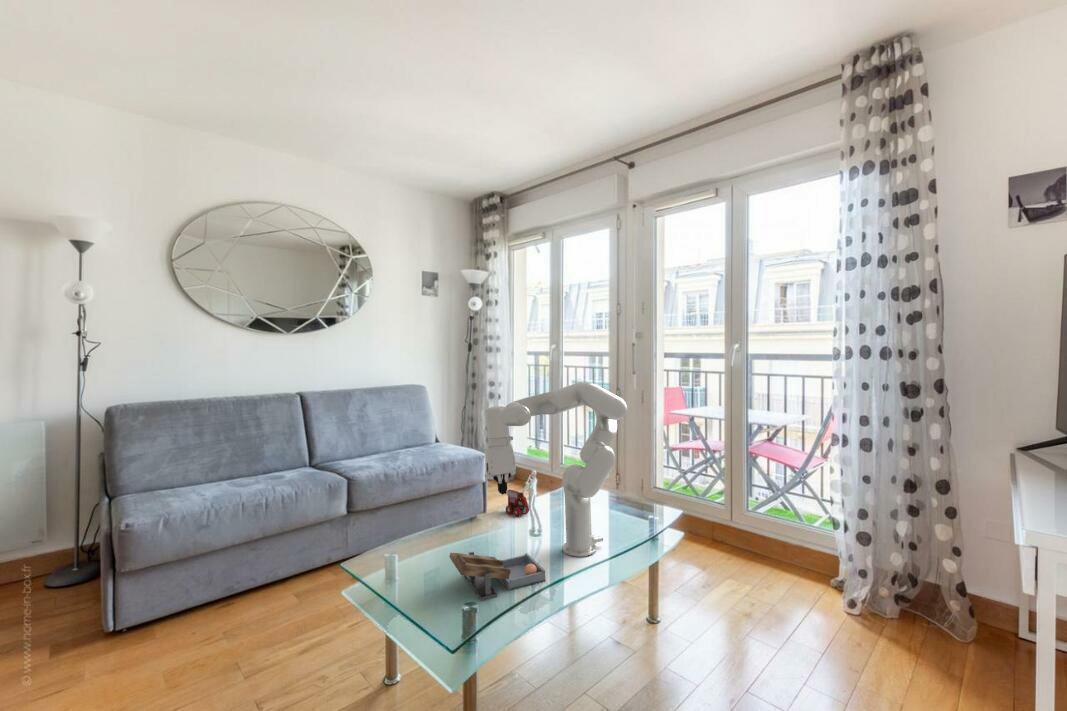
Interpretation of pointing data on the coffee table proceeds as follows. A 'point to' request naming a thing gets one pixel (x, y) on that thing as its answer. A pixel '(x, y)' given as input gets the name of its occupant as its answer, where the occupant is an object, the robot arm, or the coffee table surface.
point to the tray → (522, 572)
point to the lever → (479, 565)
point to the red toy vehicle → (516, 503)
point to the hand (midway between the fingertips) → (502, 493)
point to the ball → (530, 569)
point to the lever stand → (482, 585)
